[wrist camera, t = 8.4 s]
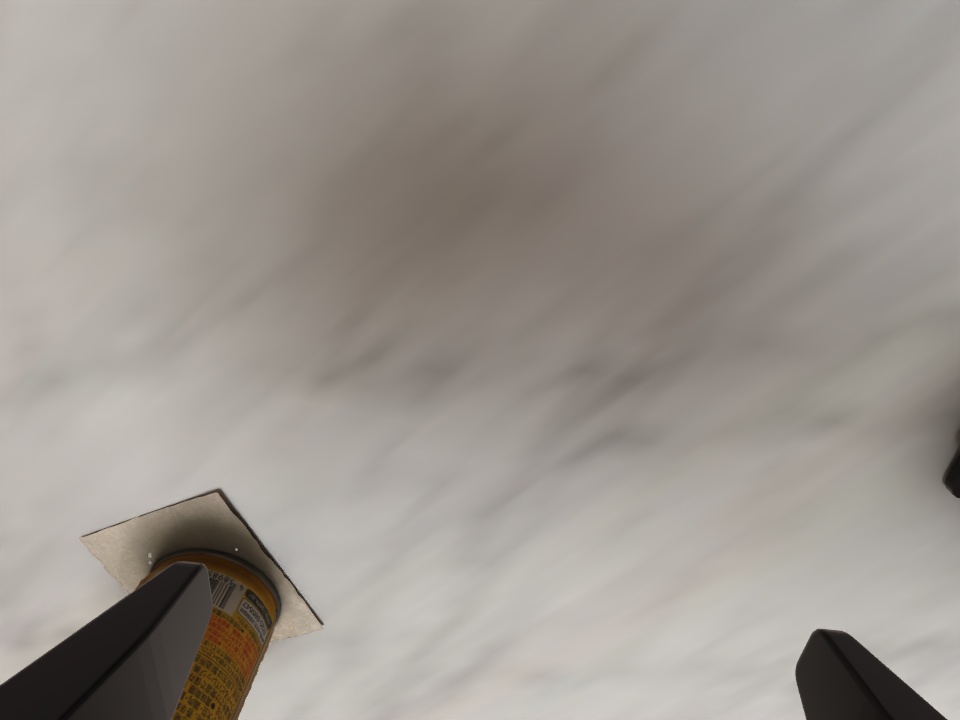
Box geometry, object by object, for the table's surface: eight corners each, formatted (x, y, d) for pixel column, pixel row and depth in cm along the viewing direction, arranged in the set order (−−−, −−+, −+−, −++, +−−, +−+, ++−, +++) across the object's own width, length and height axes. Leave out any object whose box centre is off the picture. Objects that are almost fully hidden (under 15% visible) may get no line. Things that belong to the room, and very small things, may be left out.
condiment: (196, 660, 29) (11, 1010, 18) (81, 535, 26) (-227, 874, 15) (325, 623, 27) (206, 983, 17) (221, 486, 24) (-11, 825, 13)
